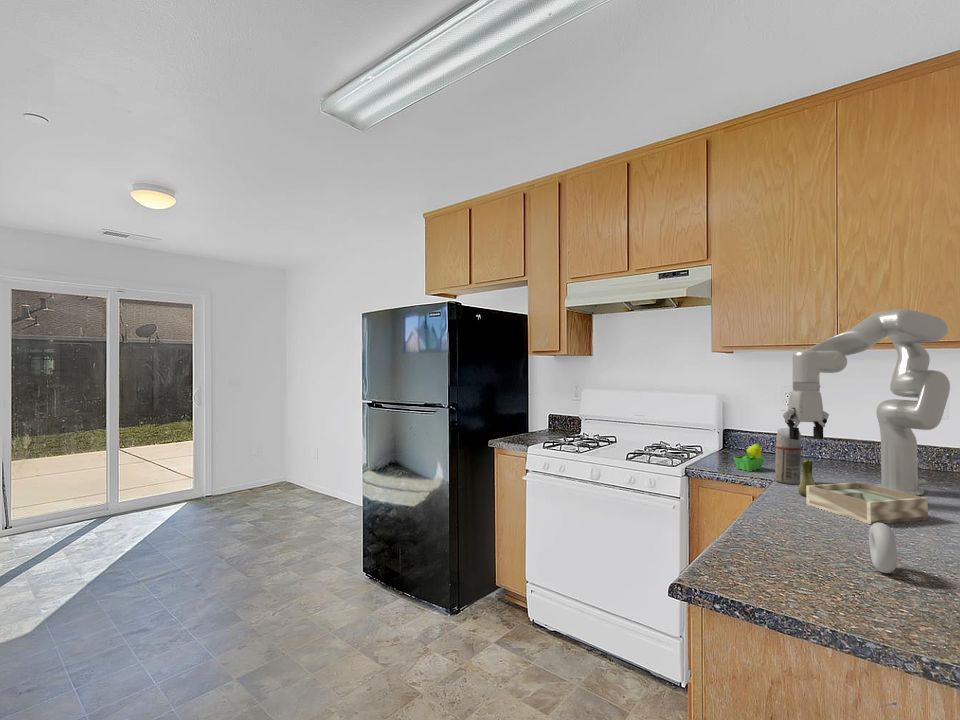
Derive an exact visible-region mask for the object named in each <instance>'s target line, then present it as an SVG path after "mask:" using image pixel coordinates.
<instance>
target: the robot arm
mask: <svg viewBox="0 0 960 720" xmlns="http://www.w3.org/2000/svg"><path fill="white" fill-rule="evenodd" d="M948 330H949V329H948V325H947V323H946V322H945V321H944V320H943V319H942V318H941V317H939V316H936V315H934V314H929V313H924V312H921V311H917V310H914V309H907V308H902V309H899V308H898V309H891V310H890V309H889V310H881V311H878V312H875V313H872V314H871V315H869V316H867V317H866V318H864V319H862V321H860V322H859V323H857V324H856V325H855V326H853V327H851V328H850V329H848V330H846V331H844V332H841V333H838V334H837V335H835V336H832V337H828V338H827V339H824V340H823V341H820V342H818V343H816V344H815V345H813V346H811V347H810V348H809V349H807V350H799V351H794V353H792V391H790V394H789V398H788V407H787V411H786V412H784V413H783V414H782V416H783V419H784V422H785V424H787V428H789V438H790V439H794V440H799V432H800V428H799V427H798V426H799V425H800V424H801V423H812V424H813V425H814V426H813V429H812V431H813V432H812V435H813V439H818V440H824V428H825V427H826V424H827V423H828V420H829V419H828V418H829V416H830V414H829V413H828V412H826V411H825V410H824V405H823V399H822V394H821V393H822V392H820V389H821V384H820V376H821V375H820V374H835V373H839V372H842V371H844V369H846V367H847V365H848V359H847V356H850V355H855V354H859V353H863V352H865V351H867V350H869V349H870V348H871V347H873V346H875V345H876V344H877V343H879V342H880V341H881V340H883V339H885V338H888V339H889V341H890V342H891V343H892V345H893V346H894V348H895V350H896V352H897V357H896V358H897V359H896V363H895V366H894V370H893V373H892V377H891V381H890V383H889V384H890V386H889V387H890V389H889V390H890V391H891V393H892V394H893V395H895V396H897V397H902V398H910V399H911V398H913V399H914V398H915V399H917V400H910V399H898V398H895V399H894V398H892V399H886V400H883V401H882V402H880V403H879V404H878V406H877V407H876V417H877V422H878V426H879V432H880V469H881V472H880V473H881V475H880V476H881V477H880V478H881V483H877V484H875V486H876V487H881V488H885V489H889V490H894V491H898V492H902V493H907V494H911V495H916V496H923V495H924V494H925V491H924V489H922V488H921V487H920V486H927V485H928V481H927V480H926V479H919V476H918V475H919V473H918V440H917V438H916V435H915V433H914V432H913V430H920V431H921V430H922V431H930V430H933V429H935V428H937V427H938V426H939V425H940V423H941V421H942V419H943V416H944V413H945V409H946V405H947V403H948V398H949V395H950V392H951V384H950V383H951V382H950V380H949V378H948V376H947V375H946V374H945V373H944V372H942V371H939V370H934V369H929V365H930V361H931V358H930V355H929V353H928V351H927V349H926V348H925V347H924V346H923V345H922V344H921V343H923V344H924V343H935V342H936V343H937V342H939V341H941V340H943V339H944V338H945V337H946V336H947V334H948ZM912 429H913V430H912Z"/></svg>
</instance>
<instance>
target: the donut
mask: <svg viewBox="0 0 960 720" xmlns="http://www.w3.org/2000/svg"><path fill="white" fill-rule="evenodd" d="M895 538H896V537H895V535H894V532H893V531H892V528H891V527H890V526H889V525H887V524H883V523H874V524H873V525H870V527H869V530H868V545H869V552H870V558H871V563H872V564H873V567H874V568H875V569H876V570H877V571H878V572H881V573H884V574H890V573H892V572H894V571H895V570H896V568H897V563H898V551H897V550H898V549H897V543H896V539H895Z"/></svg>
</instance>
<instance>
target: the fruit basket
mask: <svg viewBox="0 0 960 720" xmlns="http://www.w3.org/2000/svg"><path fill="white" fill-rule="evenodd" d="M761 446H762V445H760V443H754V444H753V445H751V446H749V447H748V448H746V453H747V454H746V455H740V456H739V455H738V456H733V460H734V462H735V467H736V469H737V468H738V469H742V470H741V471H744V470H748V471H747V472H752V471H751V470H754V471H756V470H755V469H760V470H762V467H763V463H764V460H766V459H765V457H762V447H761ZM738 469H737V470H738Z"/></svg>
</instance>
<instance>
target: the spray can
mask: <svg viewBox="0 0 960 720" xmlns="http://www.w3.org/2000/svg"><path fill="white" fill-rule="evenodd" d="M774 463H775V465H774V466H775V467H774V468H775V471H774V473H775V479H774V481H776V482H779V483H782V484H788V485H789V484H790V485H800V484H799V483H800V482H801V467H802V433H801V432H800V431H799V440H794V439H790V438H789V427H782V428H778V429H777V433H776V442H775V462H774Z"/></svg>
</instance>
